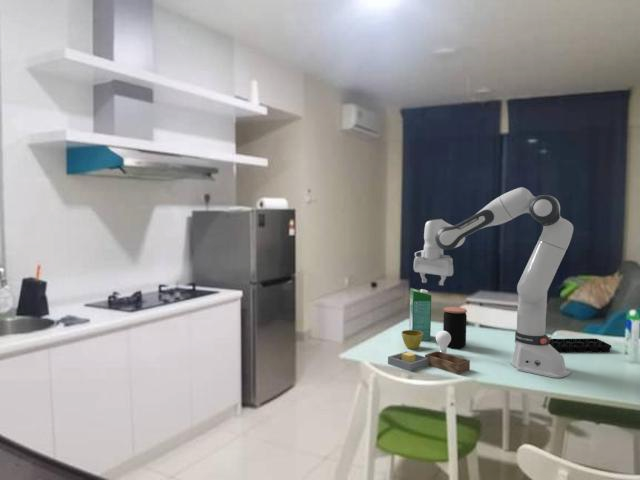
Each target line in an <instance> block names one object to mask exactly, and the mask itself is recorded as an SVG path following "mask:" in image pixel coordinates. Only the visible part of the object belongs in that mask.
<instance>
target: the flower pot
mask: <svg viewBox="0 0 640 480" xmlns="http://www.w3.org/2000/svg"><path fill="white" fill-rule="evenodd" d="M401 337H402V340H403V343H404V345H405V347H406V348H407V349H410V350H417V349H418V348H419V347H420V345H421V344H422V341H423V340H422V338H423V332H420V331H416V330H409V329H408V330H407V329H405V330H402V331H401Z"/></svg>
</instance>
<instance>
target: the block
mask: <svg viewBox="0 0 640 480" xmlns="http://www.w3.org/2000/svg"><path fill="white" fill-rule="evenodd" d="M405 352H406V351H405ZM402 353H403V352H402ZM416 354H417V353H414V354H413V352H410V351H407V352H406V353H403V354H402V361H405V362H408V363H413V362H415V356H416Z"/></svg>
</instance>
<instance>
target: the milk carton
mask: <svg viewBox="0 0 640 480" xmlns="http://www.w3.org/2000/svg"><path fill="white" fill-rule="evenodd" d="M409 289H410V291H409V293H410V294H409V300H410V301H409V325H408V326H409V329H408V330H416V331H420V332H423V338H422V341H431V332H432V331H431V328H432V327H431V326H432V325H431V323H432V294H430V293H429V290H426V289H425V288H424V289H422V288H421V289H417V288H413V287H410V288H409Z"/></svg>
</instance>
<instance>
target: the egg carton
mask: <svg viewBox="0 0 640 480" xmlns="http://www.w3.org/2000/svg"><path fill="white" fill-rule="evenodd" d="M550 339H551V340H549V344H550V345H551V346H552V347H553V348H554V349H555V350H556V351H558V352H559V353H562V352H563V353H575V352H576V353H586V352H587V351H588V353H598V352H599V351H601V352H600V353H611V349H612V345H611V344H609V343H608V342H605V341H602V340H601V339H598V338H592V337H591V338H550Z"/></svg>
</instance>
